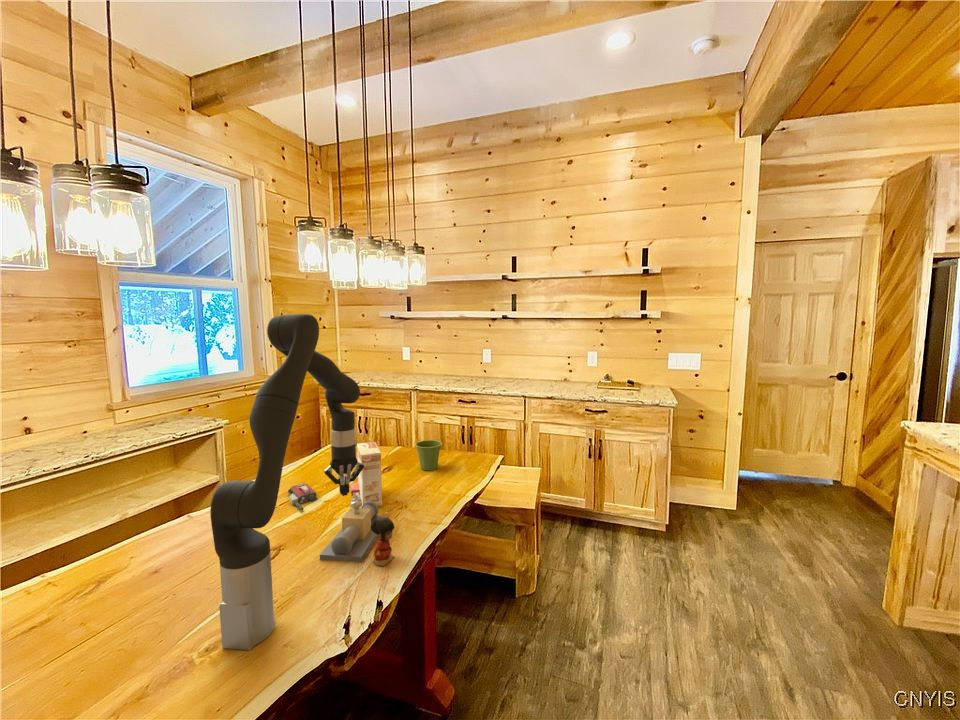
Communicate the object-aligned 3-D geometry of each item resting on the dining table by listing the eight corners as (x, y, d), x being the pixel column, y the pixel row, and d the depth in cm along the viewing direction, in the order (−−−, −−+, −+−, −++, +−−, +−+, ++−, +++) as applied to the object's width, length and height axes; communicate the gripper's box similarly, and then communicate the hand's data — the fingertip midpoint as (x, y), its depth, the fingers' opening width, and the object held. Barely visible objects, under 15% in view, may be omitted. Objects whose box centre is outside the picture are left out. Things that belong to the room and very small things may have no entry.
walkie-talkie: (282, 495, 158) (299, 514, 142) (282, 484, 157) (298, 501, 142) (306, 489, 163) (324, 506, 148) (306, 478, 163) (324, 494, 148)
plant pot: (447, 466, 187) (447, 442, 186) (431, 475, 177) (430, 449, 176) (427, 461, 193) (426, 438, 192) (410, 469, 183) (409, 444, 182)
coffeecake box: (382, 505, 148) (381, 452, 146) (362, 509, 145) (360, 455, 143) (377, 489, 162) (375, 441, 160) (358, 492, 159) (356, 443, 157)
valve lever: (362, 507, 124) (361, 502, 124) (351, 509, 123) (350, 503, 123) (360, 487, 139) (359, 482, 139) (350, 488, 138) (349, 483, 138)
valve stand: (361, 562, 114) (360, 527, 113) (319, 559, 115) (318, 525, 114) (388, 519, 138) (388, 490, 137) (354, 518, 139) (353, 489, 138)
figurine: (371, 568, 111) (370, 525, 110) (371, 557, 116) (370, 516, 115) (395, 564, 113) (394, 522, 111) (394, 553, 118) (393, 513, 117)
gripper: (324, 448, 127) (325, 503, 128) (367, 442, 133) (368, 494, 135) (319, 442, 133) (321, 494, 135) (361, 437, 140) (361, 486, 141)
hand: (344, 494), depth 135 cm, fingers closed
